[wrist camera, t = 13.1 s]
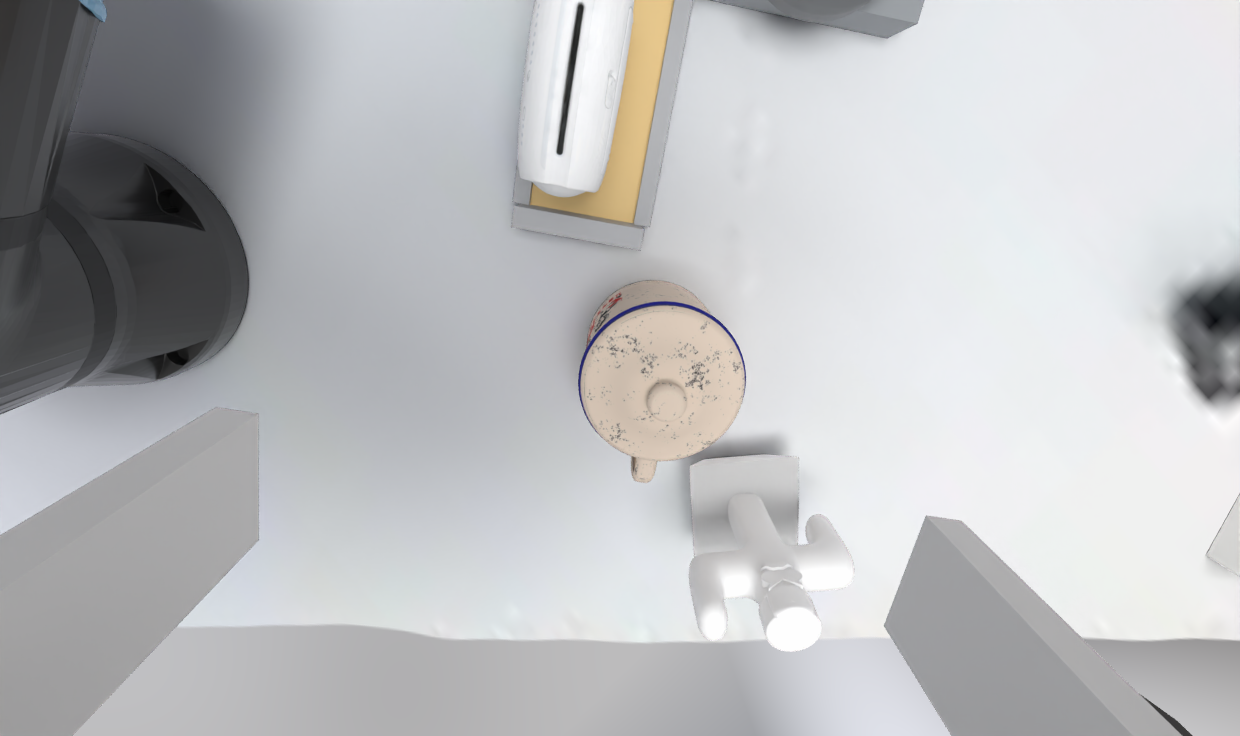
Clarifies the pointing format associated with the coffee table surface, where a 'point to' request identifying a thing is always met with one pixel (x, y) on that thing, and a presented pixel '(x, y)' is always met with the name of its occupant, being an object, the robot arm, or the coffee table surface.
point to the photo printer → (572, 92)
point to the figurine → (760, 548)
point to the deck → (668, 115)
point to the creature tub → (1228, 542)
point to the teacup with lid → (659, 375)
